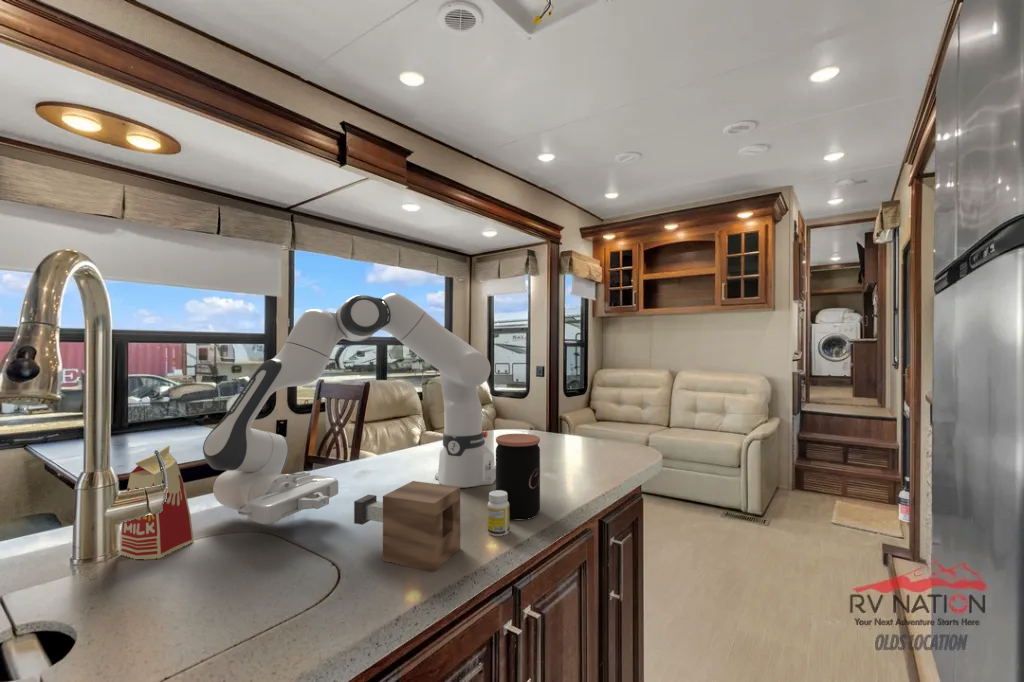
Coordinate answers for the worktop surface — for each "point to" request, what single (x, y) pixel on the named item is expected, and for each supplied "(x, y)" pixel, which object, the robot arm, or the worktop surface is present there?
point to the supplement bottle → (498, 513)
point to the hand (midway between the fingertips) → (324, 502)
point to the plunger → (368, 510)
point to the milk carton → (167, 527)
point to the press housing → (421, 525)
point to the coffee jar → (519, 473)
